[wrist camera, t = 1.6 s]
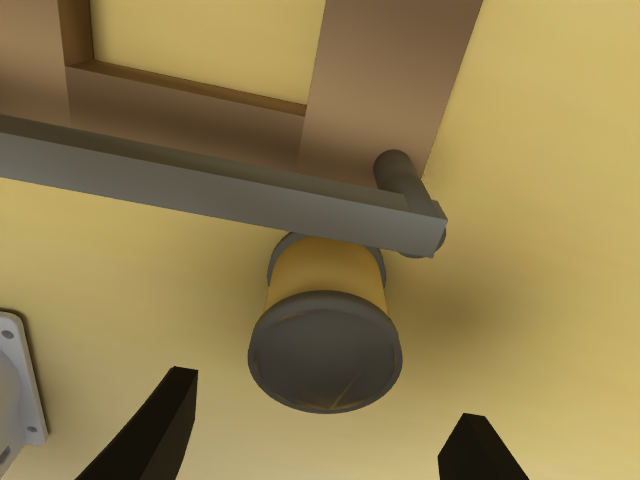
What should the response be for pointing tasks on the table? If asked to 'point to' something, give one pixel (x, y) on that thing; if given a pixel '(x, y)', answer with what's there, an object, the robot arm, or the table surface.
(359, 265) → the cord reel
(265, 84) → the table surface
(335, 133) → the brown piece
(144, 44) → the table surface
